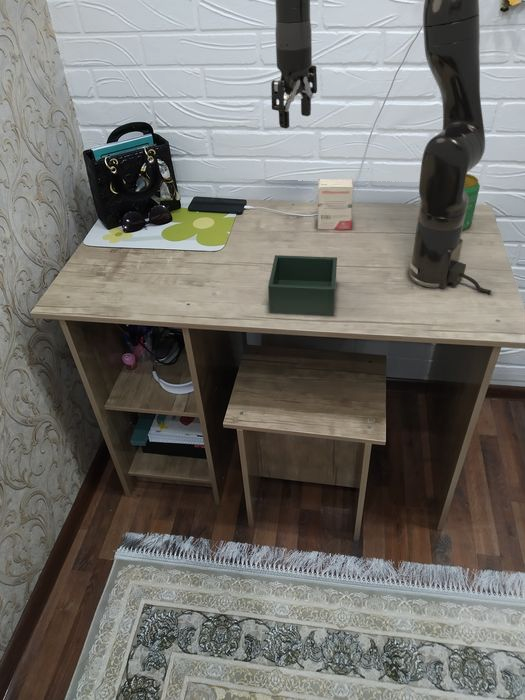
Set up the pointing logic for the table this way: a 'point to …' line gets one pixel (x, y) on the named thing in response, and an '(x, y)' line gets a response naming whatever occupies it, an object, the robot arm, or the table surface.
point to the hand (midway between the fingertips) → (295, 121)
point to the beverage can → (470, 198)
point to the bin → (302, 285)
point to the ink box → (335, 203)
